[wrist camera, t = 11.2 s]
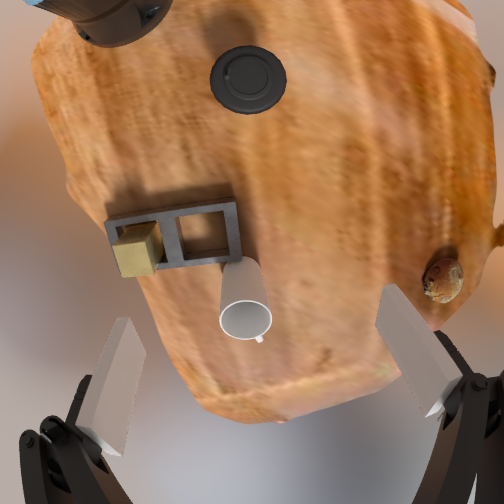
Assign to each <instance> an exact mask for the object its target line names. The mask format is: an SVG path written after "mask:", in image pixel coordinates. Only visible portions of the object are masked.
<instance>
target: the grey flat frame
mask: <svg viewBox="0 0 504 504" xmlns="http://www.w3.org/2000/svg"><path fill="white" fill-rule="evenodd" d="M222 210H224V217H225V224H226V231H227V238H228V245H229V248H225V249H217V250H208V251H200V252H192V253H186V250H185V245H184V241H183V236H182V231H181V227H180V222H179V216H186V215H193V214H200V213H207V212H215V211H222ZM153 220H158V223H159V228H160V232H161V236H162V240H163V244H164V248H165V252H166V256H162V257H161V259H160V262H159V264H158V266H157V269H156V270H160V269H169V268H178V267H186V266H195V265H204V264H212V263H221V262H229V261H237V260H243V257H242V248H241V240H240V232H239V224H238V216H237V208H236V200H235V197H230V198H223V199H215V200H208V201H200V202H193V203H187V204H180V205H174V206H167V207H161V208H155V209H149V210H143V211H138V212H132V213H127V214H121V215H116V216H111V217H109V218H108V219H107V220H106V221H105V222H104V225H105V229H106V232H107V235H108V239H109V242H110V245H111V248H112V251H113V247H112V246H113V245H114V243H115V242H116V241H117V240H118V238H119V237H120V236H121V235H122V234H123V232H124V231H123V227H122V226H123V225H129V224H134V223H140V222H147V221H153ZM113 254H114V251H113ZM114 257H115V254H114ZM115 260H116V257H115ZM116 263H117V260H116ZM117 266H118V263H117ZM118 269H119V266H118ZM119 272H120V269H119ZM120 274H121V272H120Z"/></svg>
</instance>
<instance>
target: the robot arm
mask: <svg viewBox="0 0 504 504" xmlns="http://www.w3.org/2000/svg"><path fill="white" fill-rule="evenodd" d="M24 1H25V2H26V3H27V4H29V5H33V6H36V7H38V8H41V9H44V10H47V11H49V12H52V13H54V14H57V15H59V16H62V17H64V18H67V19H69V20H71V21H72V23H73V25H74V27H75V29H76V30H77V32H78V34H79V35H80V36H81V38H83V39H84V40H85V41H87V42H89V43H91V44H93V45H96V46H99V47H104V48H112V47H119V46H123V45H126V44H129V43H131V42H134V41H136V40H138V39H140V38H141V37H143V36H144V35H146V34H147V33H149V32H150V31H151V30H153V29H154V28H155V27H156V26H157V25H158V24H159V23H160V22H161V21H162V19H163V18H164V17H165V15H166V14H167V12H168V11H169V9H170V6H171V4H172V1H173V0H24ZM375 326H376V328H377V330H378V331H379V333H380V335H381V336H382V338H383V340H384V342H385V343H386V345H387V347H388V349H389V350H390V352H391V354H392V356H393V358H394V359H395V361H396V363H397V365H398V367H399V369H400V370H401V372H402V374H403V376H404V378H405V380H406V382H407V383H408V385H409V387H410V389H411V391H412V393H413V395H414V397H415V399H416V401H417V403H418V405H419V407H420V409H421V411H422V413H423V415H424V417H427V416H429V415H431V414H433V413H436V412H438V410H439V409H440V408H441V407H442V405H444V407H445V411H444V412H443V413H442V414H441V415H440V417H439V418H438V420H437V422H439V421H440V420H441V419H442V420H441V424H440V428H439V432H438V435H437V439H436V442H435V445H434V448H433V452H432V455H431V458H430V461H429V463H428V466H427V469H426V471H425V474H424V477H423V479H422V482H421V484H420V487H419V489H418V491H417V494H416V496H415V498H414V500H413V502H412V504H467V503H468V499H469V496H470V494H471V490H472V487H473V484H474V480H475V477H476V473H477V483H476V493H475V501H474V504H504V370H503V372H502V373H501V374H500V376H497V377H491V378H486V377H485V376H484V375H482V374H480V373H474V372H473V371H472V370H471V369H470V367H469V365H468V364H467V363H466V361H465V360H464V358H463V357H462V355H461V354H460V353H459V351H457V348H456V347H455V346H454V345H453V343H452V342H451V340H450V339H449V338H448V336H447V335H445V334H444V333H442V332H441V331H440V330H438V331H435V332H433V331H432V330H431V329H430V327H429V326H428V325H427V323H426V322H425V321H424V319H423V318H422V317H421V315H420V314H419V313H418V312H417V310H416V309H415V308H414V306H413V305H412V304H411V303H410V301H409V300H408V299H407V298H406V296H405V295H404V294H403V293H402V291H401V290H400V289H399V288H398V287H397V285H396V284H390V285H385V286H383V289H382V294H381V299H380V304H379V309H378V313H377V318H376V322H375ZM146 354H147V353H146V351H145V349H144V347H143V345H142V343H141V341H140V339H139V337H138V334H137V332H136V330H135V328H134V325H133V323H132V321H131V319H130V317H117V319H116V321H115V323H114V326H113V328H112V330H111V332H110V335H109V337H108V339H107V342H106V344H105V346H104V349H103V351H102V353H101V356H100V358H99V361H98V363H97V366H96V368H95V371H94V373H93V375H86V376H85V377H84V378H83V379H82V380H81V382H80V384H79V386H78V389H77V393H76V394H75V396H74V400H73V402H72V405H71V407H70V410H69V413H68V416H67V418H66V421H65V422H63V421H62V420H61V419H60V418H59V417H57V416H53V415H52V416H48V417H47V418H45V419H44V420H43V421H42V423H41V425H40V434H41V435H39V434H37V433H36V432H35V431H33V430H26V431H24V432H23V433H22V435H21V437H20V440H19V451H20V466H21V476H22V484H23V491H24V497H25V503H26V504H133V503H132V502H131V500H130V499H129V497H128V496H127V494H126V493H125V491H124V490H123V489H122V487H121V485H120V484H119V482H118V481H117V479H116V477H115V476H114V474H113V473H112V471H111V469H110V467H109V466H108V464H107V462H106V461H105V459H104V457H103V456H102V455H101V452H102V449H103V450H104V451H105V452H107V453H108V454H111V455H117V456H123V454H124V448H125V443H126V438H127V433H128V427H129V423H130V419H131V414H132V410H133V405H134V401H135V396H136V392H137V388H138V384H139V380H140V376H141V372H142V369H143V365H144V361H145V357H146ZM500 412H501V413H500Z"/></svg>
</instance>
